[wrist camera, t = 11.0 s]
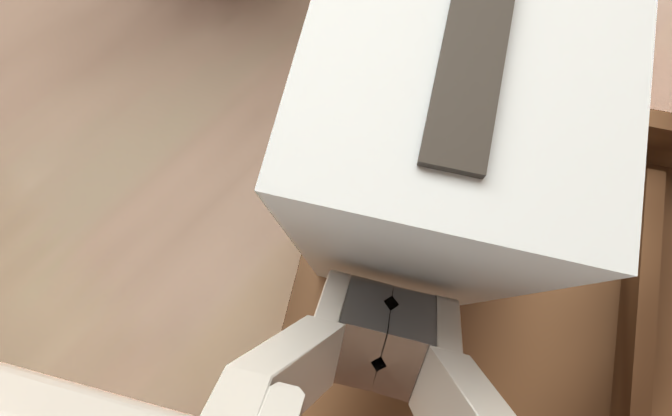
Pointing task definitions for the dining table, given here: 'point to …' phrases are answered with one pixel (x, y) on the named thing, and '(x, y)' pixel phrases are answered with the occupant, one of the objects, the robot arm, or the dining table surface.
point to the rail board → (560, 329)
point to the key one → (466, 143)
